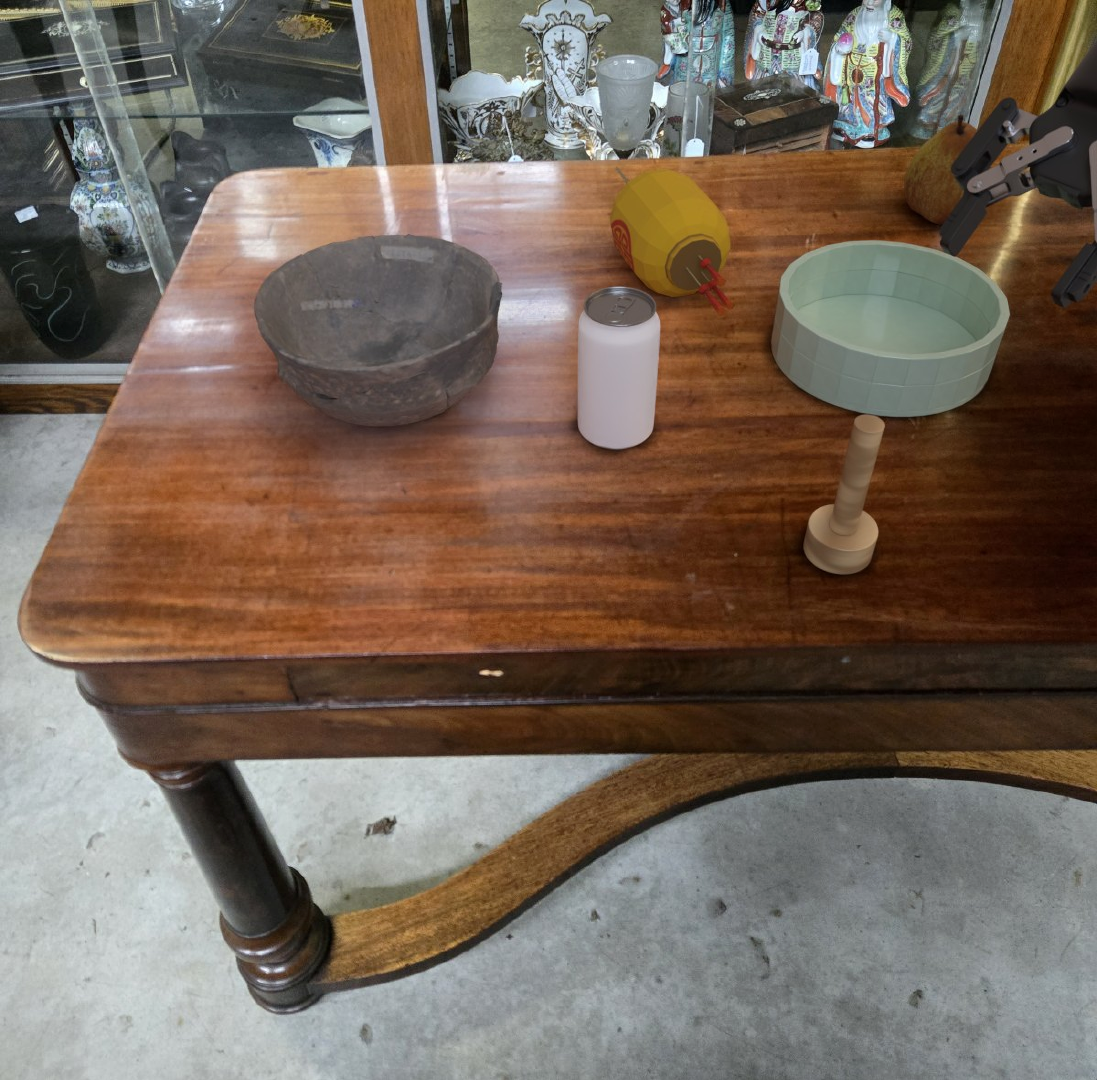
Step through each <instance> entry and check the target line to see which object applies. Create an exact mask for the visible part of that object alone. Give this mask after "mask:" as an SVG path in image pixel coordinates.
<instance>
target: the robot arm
mask: <svg viewBox="0 0 1097 1080" xmlns="http://www.w3.org/2000/svg"><path fill="white" fill-rule="evenodd" d="M977 130H978V131H977V132H976V134H975V135H974V136H973V138H972V139H971V140H970V142H969V143H968V144H967V146H966V147H965V148H964V149H963V151H962V152H961V153H960V155H959V156H958V157H957V159H956V160H955V161H954V162H953V164H952V166H951V172H952V174H953V176H954V178H955V179H956V181H957V183H958V185H959V187H960V189H961V190H963V191H964V194H963V196H962V198H961V199H960V200H959V202H958V203H957V205H956V206H955V208H954V209H953V210H952V212H951V213H950V215H949V216H948V218H947V220H946V221H945V222H944V223H943V225H940V230H939V232H938V235H939V236H940V241H939V246H940V248H941V249H942V251H943V252H944V253H947V254H949V255H951V256H953V257H957V256H958V255H959V254H960V252H961V250H963V248H964V247H965V245H966V243H967V242H968V241H969V239H970V238H971V237H972V235H973V234H974V232H975V231H976V230H977V228H978V227H979V225H980V224H981V223H982V221H983V220H984V218H985V217H986V215H987V214H988V210H987V208H989V207H991V206H993V205H995V204H997V203H999V202H1001V201H1003V200H1005V199H1007V198H1010V197H1019V196H1023V195H1025V194H1027V193H1029V192H1031V191H1033V190H1035V189H1037V190H1038V192H1039V194H1040V195H1042V196H1044V197H1047V198H1051V199H1060V200H1063V201H1065V202H1066V203H1067V204H1068V205H1069V206H1070V207H1073V208H1075V209H1078V210H1080V211H1083V209H1084V208H1092V212H1093V225H1094V240H1093V241H1092V243H1088V242H1086V243H1085V244H1084V245H1083V246H1082V248H1081V249H1080V251H1079V252H1078V253H1077V254H1076V256H1075V258H1073V260H1072V262H1071V263H1070V264H1069V266H1068V267H1067V269H1066V270H1065V271H1064V273H1063V274H1062V275H1061V277H1060V278H1059V279H1058V281H1057V282H1056V283H1055V284H1054V287H1053V288H1052V289H1051V292H1050V297H1051V299H1052V302H1053V304H1055V305H1057V306H1059V307H1061V308H1063V309H1065V308H1067V307H1068V306H1069V305H1070V304H1071V302H1073V303H1075V304H1077V303H1079V302H1081V301H1082V300H1083V299H1085V298H1086V296H1087V295H1088V294H1089V293H1090V291H1091V290H1092V288H1093V287H1094V286H1095V284H1096V283H1097V39H1096V40H1095V41H1094V42H1093V44H1092V46H1090V48H1089V50H1088V51H1087V53H1086V54H1085V55H1084V57H1083V58H1082V59H1081V61H1080V63H1079V64H1078V65H1077V67H1076V68H1075V70H1074V71H1073V73H1072V74H1071V75H1070V76H1069V78H1068V79H1067V81H1066V82H1065V84H1064V86H1063V87H1062V88H1061V90H1060V92H1059V94H1058V96H1057V98H1056V99H1055V102H1053V104H1052V105H1051V106H1050V107H1049V108H1048V109H1047V110H1045V111H1044V112H1042V113H1041V114H1039V115H1036V114H1033V113H1031V112H1029V111H1026V110H1024V109H1022V108H1019V105H1018V103H1017V101H1016V99H1015V98H1013V97H1004V98H1003V99H1001V100H1000V101H999V102H998V104H997V105H996V106H995V107H994V109H993V110H992V111H991V113H990V114H989V115H988V117H987V118H986V120H985V121H984V122H983V123H982V124H981V126H980V127H979V129H977ZM1027 135H1028V145H1027V146H1025V147H1023V148H1021V149H1018V150H1017V151H1015V152H1013V153H1011V154H1008V155H1006V156H1005V157H1003V158H1002V159H1000V160H999V163H998V164H997V165H995V166H993V167H992V165H994V163H995V162H996V160H997V159H998V158H999V157H1000V156H1001V154H1002V153H1003V151H1004V150H1005V149H1006V148H1007V146H1008V145H1014V144H1016V143H1017V142H1018V140H1019V139H1020V138H1022V137H1024V136H1027ZM990 167H991V169H989V168H990ZM988 169H989V170H988ZM1026 169H1028V170H1027V171H1025V172H1023V171H1024V170H1026Z"/></svg>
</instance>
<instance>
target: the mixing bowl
mask: <svg viewBox="0 0 1097 1080" xmlns="http://www.w3.org/2000/svg"><path fill="white" fill-rule="evenodd" d="M775 305H776V306H775V310H774V311H775V312H774V318H773V325H772V331H771V332H772V333H771V339H770V349H771V353H772V356H773V359H774V361H775V363H776V365H777V366H778V368H779V369H780V371H781V372H782V373H783V374H784V376H786V377H787V378H788V380H789V381H791V382H792V383H793V384H794V385H795V386H797V387H798V388H800V389H801V390H803V391H804V392H806V393H808V394H809V395H811V396H813V397H815V398H817V399H819V400H820V401H823V402H826V403H828V404H831V405H833V406H835V407H839V408H842V409H844V410H848V411H852V412H856V413H861V414H864V415H874V416H877V417H879V416H880V417H890V418H892V417H893V418H913V417H925V416H931V415H935V414H940V413H944V412H947V411H951V410H953V409H956V408H958V407H961V406H962V405H965V404H966V403H968V402H970V401H971V400H972V399H974V398H975V397H976V396H977V395H979V394H980V392H981V391H982V390H983V389H984V388H985V386H986V384H987V382H988V380H989V378H990V374H991V372H992V369H993V367H994V363H995V361H996V358H997V355H998V352H999V349H1000V346H1001V343H1002V340H1003V337H1004V334H1005V332H1006V328H1007V326H1008V323H1009V320H1010V316H1011V312H1010V307H1009V302H1008V298H1007V296H1006V295H1005V293H1004V291H1003V290H1002V289H1001V287H1000V286H999V284H998V283H997V282H996V281H995V280H993V278H991V276H988V275H987V274H986V273H985V272H984V271H982V270H981V269H980V268H978V267H976V266H974V265H973V264H971V263H969V262H968V261H965V260H963V259H961V258H959V257H957V256H955V257H953V256H951V255H949V254H947V253H945V252H944V251H941V250H938V249H935V248H933V247H926V246H922V245H917V244H913V243H908V242H902V241H891V240H881V239H880V240H879V239H878V240H877V239H869V240H867V239H866V240H848V241H843V242H837V243H832V244H827V245H823V246H821V247H818V248H815V249H813V250H810V251H807V252H805V253H804V254H802V255H801V256H799V257H798V258H796V259H795V260H794V261H792V262H791V263H789V265H788V266H787V268H786V269H785V271H784V272H783V273H782V275H781V277H780V281H779V286H778V292H777V299H776V304H775Z"/></svg>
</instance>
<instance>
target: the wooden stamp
mask: <svg viewBox="0 0 1097 1080" xmlns="http://www.w3.org/2000/svg"><path fill="white" fill-rule="evenodd" d="M885 426H886V424H885V422H884V420H882V419H881V418H880V417H879V416H877V415H872V414H860V415H858V416H856V417H855V419H854V420H853V424H852V428H851V432H850V437H849V441H848V445H847V449H846V453H845V457H844V461H843V466H842V470H841V473H840V477H839V478H840V479H839V482H838V486H837V491H836V494H835V499H834V503H831V504H827V505H823V506H820V507H818V508H817V509H815V510H814V511H812V513H811V514H810V516H809V519H808V522H807V526H806V530H805V535H804V540H803V544H802V545H803V551H804V554H805V556H806V558H807V559H808V561H809V562H810V563H812V565H814V566H815V567H816V568H818V569H820V570H822V571H825V572H827V573H829V574H834V575H852V574H856V573H859V572H861V571H863V570H864V569H866V568H867V567H868V566H869V565H870V563H871V562H872V558H873V555H874V552H875V548H876V543H877V541H878V537H879V528H878V524H877V523H876V521H875V519H874V518H873V517H872V515H870V514H869V513H868V512H866V511H864V510H863V509H864V506H865V503H866V499H867V495H868V491H869V488H870V484H871V480H872V476H873V472H874V468H875V465H876V461H877V457H878V454H879V450H880V446H881V442H882V438H883V435H884V431H885V428H886V427H885Z"/></svg>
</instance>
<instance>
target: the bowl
mask: <svg viewBox="0 0 1097 1080" xmlns="http://www.w3.org/2000/svg"><path fill="white" fill-rule="evenodd" d="M502 289H503V282H501V281H500V277H499V275H498V272H497V271H496V269H495V268H494V267H493V266H492V265H491V263H489V261H488V259H486V258H485V257H483V256H481V254H479V253H476V252H475V251H472V250H471V249H469V248H468V247H467V248H466V247H465V246H462V245H461V244H459V243H457V242H453V241H450V240H446V239H443V238H439V237H438V238H437V237H433V236H426V235H425V236H424V235H415V234H410V233H408V234H405V235H404V234H387V235H385V234H383V235H382V234H380V235H376V236H374V235H367V236H359V237H356V238H351V239H347V240H341V241H333V242H330V243H327V244H324V245H321V246H318V247H316V248H313V249H310V250H308V251H306V252H305V253H303V254H298V255H297V256H295V257H293V258H292V259H290V260H288V261H286V262H285V263H283V264H282V265H280V266H279V267H278V268H276V269H275V270H273V271H271V272H270V273H269V274H268V275H267V276H266V278H265V279H264V280H263V282H262V284H261V285H260V287H259V289H258V290H257V294H256V296H255V299H254V305H253V312H254V316H255V320H256V323H257V329H258V331H259V334H260V335H261V337H262V339H263V340H264V342H265V343H266V345H267V346H268V347H269V349H270V350H271V352H273V354H274V356H275V358H276V363H277V374H278V377H279V378H280V380H281V381H282V382H283V383H285V384H286V385H288V387H290V389H291V390H292V391H293V392H294V393H295V394H296V395H297V396H298V397H299V398H301V399H302V400H304V401H305V402H307V403H308V405H311V406H312V407H314V408H315V409H317V410H318V411H320V412H322V413H323V414H325V415H327V416H329V417H331V418H334V419H336V420H339V421H342V422H345V423H349V424H354V425H359V426H365V427H393V426H404V425H408V424H414V423H416V422H420V421H424V420H429V419H430V418H432V417H436V416H437V415H440V414H442V413H444V412H445V411H447V410H448V409H449V408H452V407H453V406H455V405H456V404H458V403H459V402H460V401H461V400H463V399H464V398H465V397H467V395H468V394H470V393H471V392H472V391H473V390H474V389H475V388H476V387H477V386H479V384H481V382H482V381H483V379H484V378H485V377H486V376H487V374H488V373H489V371H490V370H491V368H492V366H493V364H494V362H495V358H496V356H497V350H498V342H499V339H500V337H499V336H500V334H499V329H498V327H499V326H498V324H499V323H498V321H499V320H498V319H499V312H500V307H501V301H502V298H503V291H502Z"/></svg>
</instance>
